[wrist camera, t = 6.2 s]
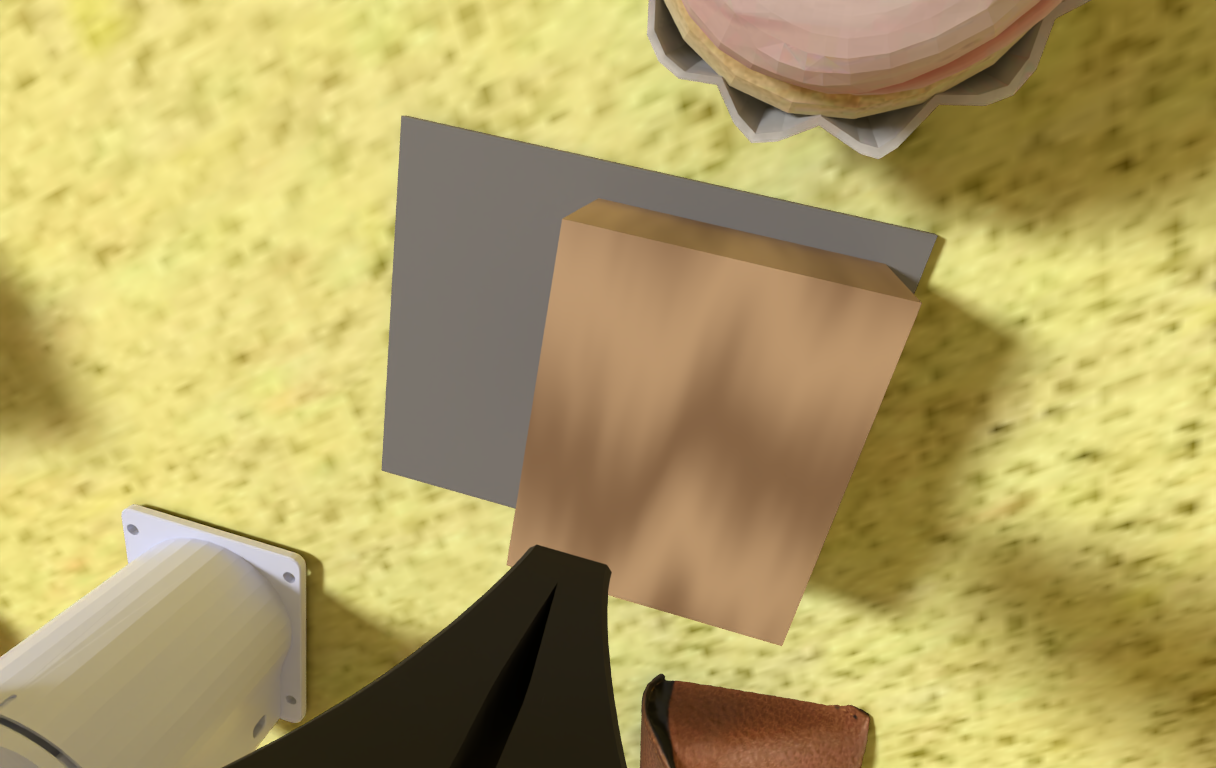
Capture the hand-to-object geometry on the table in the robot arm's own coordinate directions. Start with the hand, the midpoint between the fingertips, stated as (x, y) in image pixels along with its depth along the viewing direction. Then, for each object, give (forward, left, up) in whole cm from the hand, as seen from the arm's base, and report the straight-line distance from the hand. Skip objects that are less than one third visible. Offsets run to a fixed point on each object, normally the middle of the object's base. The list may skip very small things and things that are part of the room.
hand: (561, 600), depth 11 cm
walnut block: (0, +2, -8) cm, 8 cm away
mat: (0, +1, -10) cm, 10 cm away
